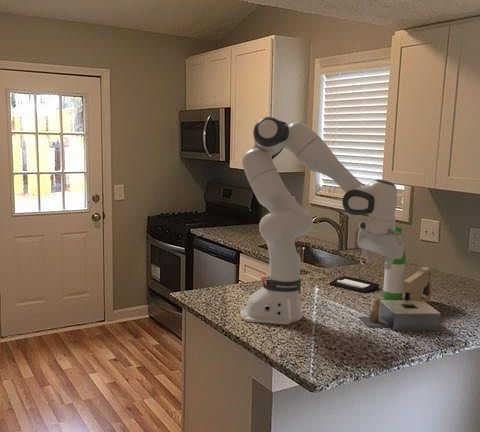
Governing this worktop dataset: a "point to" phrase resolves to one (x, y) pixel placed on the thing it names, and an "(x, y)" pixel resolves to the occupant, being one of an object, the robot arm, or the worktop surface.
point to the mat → (370, 324)
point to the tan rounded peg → (374, 310)
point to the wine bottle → (394, 277)
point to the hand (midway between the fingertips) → (377, 265)
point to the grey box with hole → (409, 315)
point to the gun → (418, 285)
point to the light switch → (354, 284)
